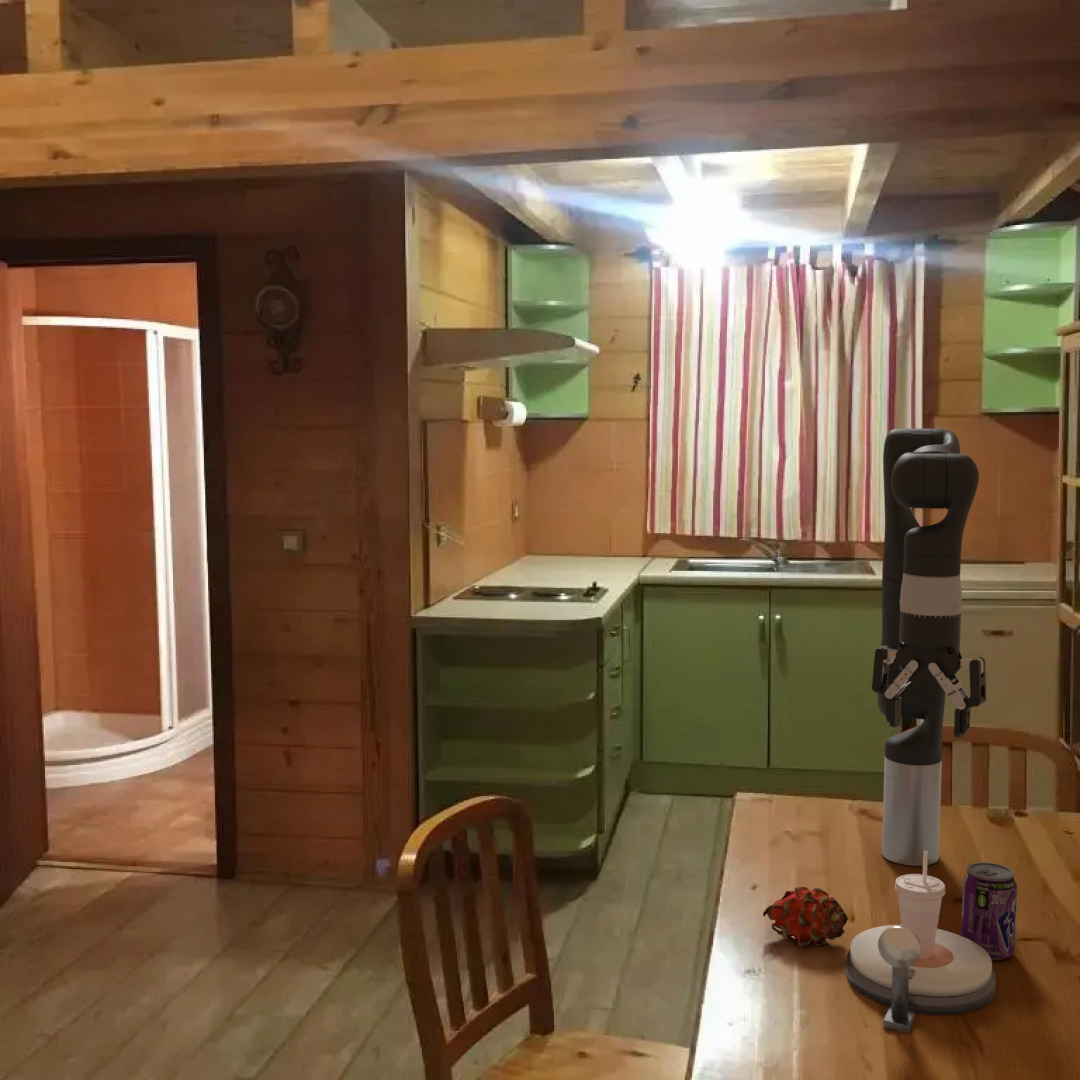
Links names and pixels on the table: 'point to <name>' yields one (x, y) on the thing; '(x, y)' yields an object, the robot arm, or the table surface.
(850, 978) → the base
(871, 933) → the turntable
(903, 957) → the stand
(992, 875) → the beverage can
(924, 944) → the smoothie
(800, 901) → the dragon fruit
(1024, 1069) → the table surface
